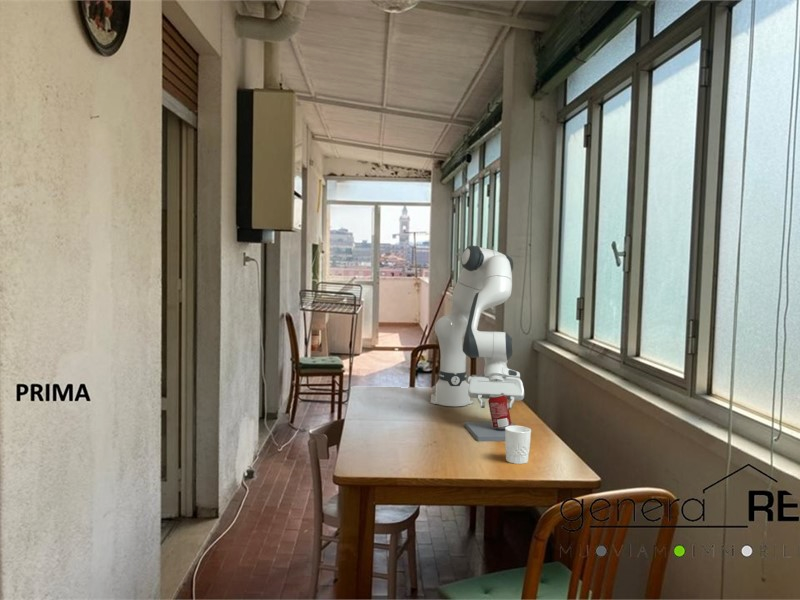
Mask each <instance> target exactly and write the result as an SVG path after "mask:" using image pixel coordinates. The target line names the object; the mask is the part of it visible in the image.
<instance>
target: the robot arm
mask: <svg viewBox="0 0 800 600" xmlns="http://www.w3.org/2000/svg"><path fill="white" fill-rule="evenodd" d="M460 259H461V260H460V263H461V266H462V270H461V272H460V273H459V276H458V278H457V281H456V283H455V287H454V289H453V292H452V294H451V306H450V307H451V309H450V312H449V314H446V315H443V316H441V317H440V318H439V319H438V320H437V321H436V322H435V323H434V324H435V325H434V332H435V335H436V337H437V340H438V343H439V344H438V345H439V346H438V347H439V350H440V351H439V352H440V359H439V360H440V362H439V363H440V365H439V371H438V379H437V382H436V384H435V385H433V386H431V387H432V389H431V391H432V392H433V393H431V394H430V402H429V403H430V404H436V405H439V406H444V407H463V406H468V405H471V404H473V403H474V400H472V399H477V401H478V403H479V404H480V409H485V407H486V401H483V399H486V400H489V398H490V397H489V395H491V394H492V395H499V394H501V393H504V394H505V396H506V398H507V401H509V402H508V408H509V411H511V410H512V406H513V405H514V403H515V401H523V399H524V398H525V389H524V383H523V381H522V379H521V373H520V372H519V371H517V370H514V369H511V368H509V367H508V365H507V364H508V361H509V360H510V359H511V358H512V357H513V338H512V336H511V335H510V334H508V332H504V331H484V330H483V331H482V330H481V331H480V330H478V328H479V327H478V326H479V323H480V318H481V316H482V315H481V314H482V313H483V312H484V311H486V310H488V309H490V308H493V307H496V306H499V305H501V304H503V303H505V302H506V301H508V299H509V298H510V297H511V295H512V290H513V274H512V272H513V270H514V261H513V259H512V257H511V256H509V255H508V254H505V253H502V252H500V251H497V250H494V249H489V248H485V247H480V246H477V245H469V246H466V248H464V250H463V251H462V254H461V257H460ZM467 357H468V358H470V359H473V358H475V359H476V358H483V359H484V368H483V374H471V375H470V376H468V378H467V371H466V368H467V366H466V365H467Z"/></svg>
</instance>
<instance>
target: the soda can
mask: <svg viewBox="0 0 800 600" xmlns="http://www.w3.org/2000/svg"><path fill="white" fill-rule="evenodd" d="M489 397H490V398H489V399H487V400H488V407H489V415H490V419H491V420H490V421H491V422H492V426H493V428H496V429H505V428H506V427H507V426H511V422H512V420H511V413H510V410H509V408H508V403H509V402H508V401H509V400H507V398H506V396H505V394H504V393H501V394H499V395H492V394H491V395H489Z"/></svg>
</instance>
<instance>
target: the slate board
mask: <svg viewBox="0 0 800 600" xmlns="http://www.w3.org/2000/svg"><path fill="white" fill-rule="evenodd" d="M511 426H517V425H516V424H515V423H513V421H511ZM464 427H465V428H466V429H467V431H470V432H469V433H470V434H471V435H472V436H473V437H474V438H475V440H476V441H477V442H505V429H496V428H493V426H492V421H464Z"/></svg>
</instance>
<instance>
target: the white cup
mask: <svg viewBox="0 0 800 600" xmlns="http://www.w3.org/2000/svg"><path fill="white" fill-rule="evenodd" d="M531 435H532V429H531V428H529V427H527V426H522V425H516V426H507V427H506V428H505V441H504V444H505V448H504V449H505V460H506V461H507V462H508V463H510V464H515V465H516V464H517V465H522V464H527V463H528V462H529V454H530V448H531V437H532V436H531Z"/></svg>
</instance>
